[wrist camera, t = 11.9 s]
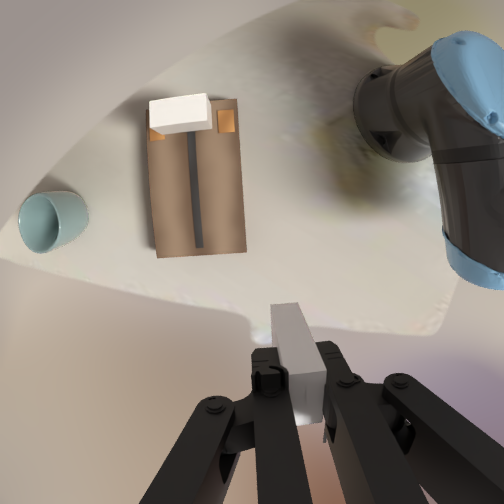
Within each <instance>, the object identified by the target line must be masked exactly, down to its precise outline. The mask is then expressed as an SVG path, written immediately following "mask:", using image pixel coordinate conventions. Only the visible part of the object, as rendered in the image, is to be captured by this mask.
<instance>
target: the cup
mask: <svg viewBox="0 0 504 504" xmlns="http://www.w3.org/2000/svg"><path fill="white" fill-rule="evenodd" d="M88 220H89V214H88V209H87V206H86V204H85V202H84V201H83V199H82V198H81V197H80V196H79V195H77V194H75V193H73V192H69V191H48V192H40V193H36V194H33V195H32V196H30V197H29V198H28V199H26V200H25V202H24V203H23V205H22V207H21V209H20V212H19V218H18V224H19V230H20V234H21V237H22V239H23V241H24V243H25V244H26V246H27V247H28V248H29V249H30V250H32V251H33V252H35V253H40V254H42V253H47V252H50V251H53V250H55V249H57V248H60V247H62V246H64V245H66V244H69V243H70V242H72V241H74V240H75V239H77V238H78V237H79V236H80V235H81V234H82V233H83V232H84V231H85V229H86V227H87V225H88Z"/></svg>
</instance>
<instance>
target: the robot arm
mask: <svg viewBox="0 0 504 504" xmlns="http://www.w3.org/2000/svg"><path fill="white" fill-rule="evenodd" d="M353 108H354V116H355V120H356V123H357V126H358V128H359V130H360V132H361V134H362V136H363V137H364V139H365V140H366V142H367V143H368V144H369V145H370V146H371V147H372V148H373V149H374V150H375V151H376V152H377V153H379V154H380V155H382V156H383V157H385V158H387V159H389V160H392V161H395V162H400V163H409V162H418V161H421V160H424V159H426V158H428V157H429V156H431V155H432V157H433V164H434V168H435V174H436V179H437V185H438V191H439V197H440V204H441V212H442V222H443V225H442V233H443V236H444V239H445V244H446V253H447V259H448V262H449V264H450V266H451V267H452V269H453V270H454V271H456V273H457V274H458V275H459V276H460V277H462V278H463V279H464V280H466V281H468V282H470V283H472V284H474V285H478V286H480V287H484V288H488V289H494V290H504V50H503V49H502V48H501V47H500V46H499V45H498V44H497V43H495V42H494V41H493V40H491V39H490V38H488V37H486V36H484V35H482V34H480V33H477V32H473V31H460V32H456V33H454V34H452V35H450V36H448V37H445V38H441V39H439V40H437V41H435V42H434V44H433V45H432V46H430V47H429V48H427V49H425V50H424V51H423V52H421V53H420V54H418V55H417V56H415V57H414V58H412V59H411V60H409V61H408V62H406V63H405V64H403V65H389V66H383V67H380V68H377V69H375V70H373V71H372V72H370V73H369V74H368V75H367V76H365V77H364V78H363V79H362V80H361V82H360V83H359V85H358V87H357V89H356V92H355V95H354V102H353ZM271 328H272V347H271V348H257V349H255V350H254V352H253V353H252V354H251V359H252V374H251V379H252V391H251V393H250V394H249V395H248V396H247V397H245V398H244V399H241V400H238V401H235V402H232V400H230V399H229V398H227V397H223V396H211V397H207V398H205V399H203V400H201V401H200V402H199V403H198V405H197V406H196V408H195V410H194V412H193V414H192V415H191V417H190V419H189V420H188V422H187V424H186V425H185V427H184V429H183V431H182V433H181V434H180V436H179V438H178V439H177V441H176V443H175V444H174V446H173V448H172V450H171V451H170V453H169V455H168V456H167V458H166V460H165V461H164V463H163V465H162V466H161V468H160V470H159V471H158V473H157V475H156V476H155V478H154V480H153V481H152V483H151V484H150V486H149V488H148V489H147V491H146V493H145V494H144V496H143V498H142V499H141V501H140V503H139V504H223V501H224V498H225V496H226V493H227V490H228V487H229V485H230V482H231V479H232V476H233V474H234V471H235V468H236V465H237V462H238V460H239V457H240V452H241V451H245V450H248V449H251V448H255V453H256V472H257V490H258V504H313V503H312V498H311V493H310V489H309V483H308V479H307V474H306V469H305V464H304V460H303V455H302V450H301V445H300V441H299V435H298V431H297V426H298V425H306V424H312V423H320V422H322V419H323V415H324V418H325V429H324V438H323V443H325V442H326V438H327V440H328V443H329V447H330V450H331V453H332V456H333V460H334V463H335V466H336V470H337V474H338V477H339V480H340V484H341V487H342V490H343V494H344V498H345V501H346V504H429V503H428V501H427V499H426V497H425V495H424V493H423V491H422V489H421V487H420V485H421V486H422V487H423V489H424V490H425V491H426V492H427V493H428V494H429V495H430V496H431V497H432V498H433V499H434V500H435V501H436V502H437V503H438V504H504V448H503V447H502V446H501V445H500V444H499V443H497V442H496V441H495V440H493V439H492V438H491V437H490V436H488V435H487V434H486V433H484V432H483V431H482V430H480V429H479V428H478V427H476V426H475V425H474V424H473V423H471V422H470V421H469V420H467V419H466V418H465V417H464V416H462V415H461V414H460V413H458V412H457V411H456V410H455V409H453V408H452V407H451V406H449V405H448V404H447V403H446V402H444V401H443V400H442V399H440V398H439V397H438V396H437V395H435V394H434V393H433V392H431V391H430V390H429V389H428V388H426V387H425V386H424V385H422V384H421V383H420V382H418V381H417V380H416V379H415V378H413V377H412V376H410V375H408V374H404V373H395V374H391V375H389V376H387V377H386V378H385V380H384V383H383V384H373V383H365V382H364V380H363V379H362V378H361V377H360V376H359V375H357V374H355V373H352V372H351V370H350V368H349V366H348V364H347V362H346V360H345V359H344V358H343V355H342V353H341V351H340V349H339V348H338V346H337V345H336V344H334V343H333V342H331V341H323V342H315V341H314V339H313V337H312V334H311V332H310V330H309V327H308V325H307V323H306V320H305V318H304V316H303V313H302V311H301V309H300V306H299V304H298V302H297V303H285V304H273V305H271ZM406 419H407V420H408V421H409V422H410V423H409V422H408V421H407V420H406ZM419 484H420V485H419Z"/></svg>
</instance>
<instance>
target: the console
mask: <svg viewBox="0 0 504 504" xmlns="http://www.w3.org/2000/svg"><path fill="white" fill-rule="evenodd" d="M210 104H211V113H212V129H206V130H198V131H189V132H180V133H172V134H165V135H162V134H160V133H158V132H156V131H155V130H153V129H151V128H150V116H149V109H148V110H146V133H147V156H148V173H149V186H150V199H151V210H152V220H153V229H154V238H155V246H156V254H157V258H169V257H184V256H199V255H214V254H229V253H244V252H247V247H246V232H245V217H244V202H243V187H242V171H241V156H240V140H239V124H238V108H237V99H226V100H215V101H210Z"/></svg>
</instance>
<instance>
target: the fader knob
mask: <svg viewBox="0 0 504 504" xmlns="http://www.w3.org/2000/svg"><path fill="white" fill-rule="evenodd" d="M149 116H150V128H151V129H153V130H155V131H156V132H158V133H160V134H162V135H165V134H172V133H180V132H189V131H198V130H206V129H212V113H211V104H210V101H209V99H208V97H207V94H206V93H202V94H193V95H186V96H178V97H171V98H165V99H159V100H153V101H149Z"/></svg>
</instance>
